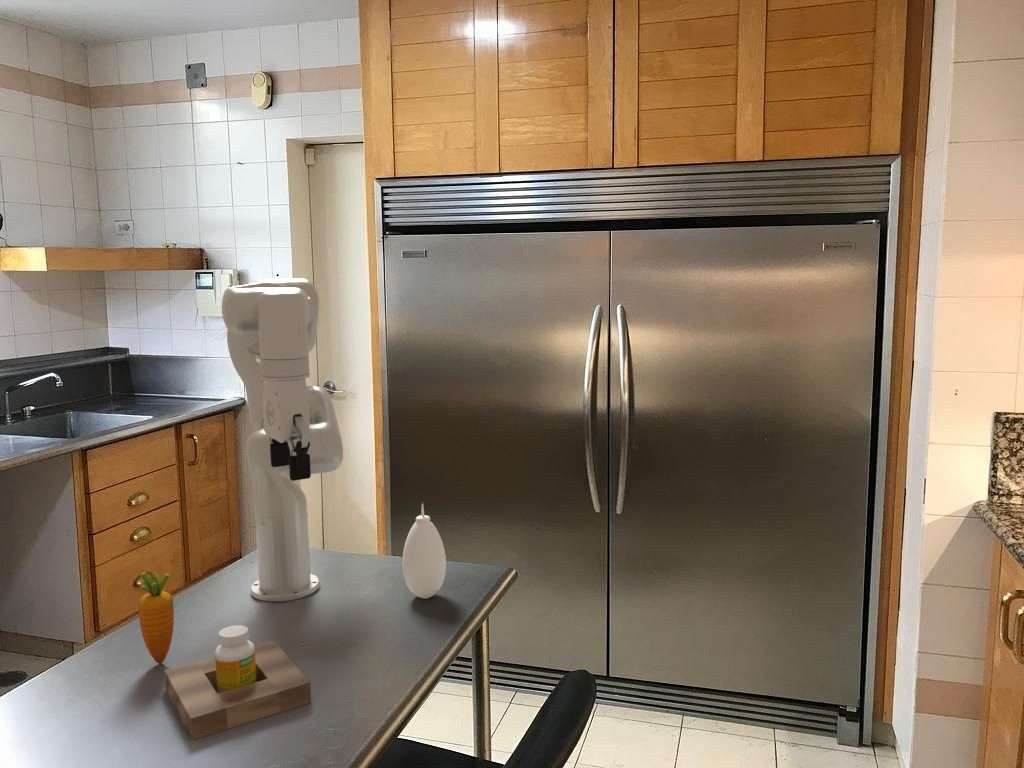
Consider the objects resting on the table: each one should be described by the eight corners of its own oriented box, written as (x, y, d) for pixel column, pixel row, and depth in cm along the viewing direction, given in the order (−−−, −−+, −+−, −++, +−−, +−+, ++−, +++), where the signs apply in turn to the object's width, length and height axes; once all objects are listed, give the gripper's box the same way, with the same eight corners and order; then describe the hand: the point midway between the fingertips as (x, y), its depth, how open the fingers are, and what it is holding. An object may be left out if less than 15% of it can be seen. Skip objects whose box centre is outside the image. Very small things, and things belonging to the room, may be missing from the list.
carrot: (184, 658, 128) (177, 567, 126) (161, 673, 124) (154, 578, 122) (159, 654, 130) (152, 564, 128) (135, 668, 125) (127, 575, 123)
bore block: (165, 689, 119) (164, 670, 118) (274, 659, 128) (273, 640, 127) (192, 740, 106) (190, 718, 105) (311, 702, 115) (310, 682, 114)
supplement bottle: (245, 706, 114) (240, 640, 112) (210, 703, 115) (205, 637, 113) (264, 687, 119) (260, 624, 118) (230, 684, 120) (226, 621, 119)
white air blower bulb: (454, 593, 153) (452, 500, 150) (428, 608, 146) (425, 511, 144) (422, 585, 157) (419, 494, 154) (395, 599, 150) (391, 504, 148)
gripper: (246, 364, 135) (252, 464, 138) (278, 377, 121) (284, 488, 124) (290, 360, 139) (295, 458, 142) (327, 373, 125) (331, 481, 128)
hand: (290, 472), depth 133 cm, fingers open, 9 cm apart
